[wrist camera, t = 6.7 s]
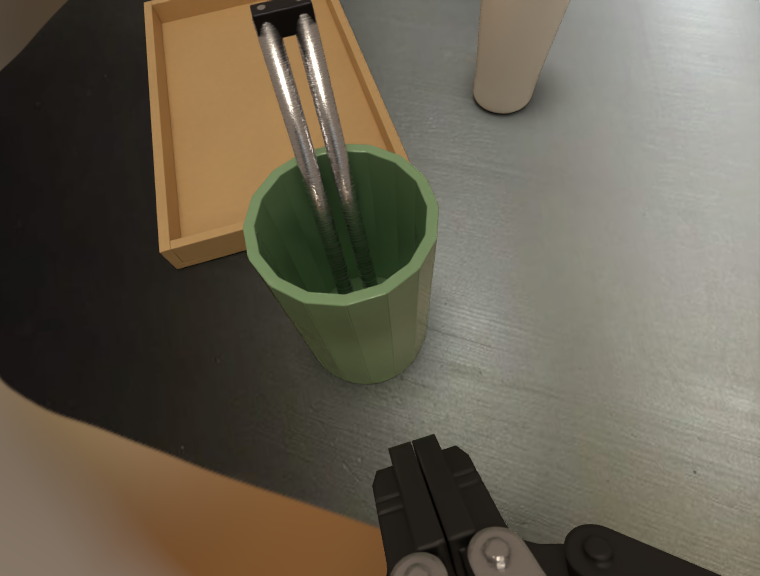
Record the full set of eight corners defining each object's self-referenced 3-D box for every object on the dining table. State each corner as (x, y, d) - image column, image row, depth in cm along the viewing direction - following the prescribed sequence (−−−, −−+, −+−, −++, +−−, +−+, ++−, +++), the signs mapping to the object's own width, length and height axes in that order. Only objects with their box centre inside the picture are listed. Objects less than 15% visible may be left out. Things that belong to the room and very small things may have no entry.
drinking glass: (554, 105, 37) (636, -111, 24) (490, 133, 36) (539, -77, 23) (510, 62, 40) (562, -152, 27) (450, 87, 39) (472, -123, 26)
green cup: (323, 400, 27) (260, 331, 15) (298, 292, 31) (232, 170, 19) (442, 363, 28) (468, 270, 16) (404, 261, 31) (403, 125, 20)
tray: (177, 269, 32) (159, 252, 30) (156, 26, 46) (143, 2, 44) (417, 202, 34) (418, 181, 31) (326, -13, 48) (322, -39, 45)
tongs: (362, 370, 27) (290, 172, 11) (332, 263, 31) (246, 2, 15) (395, 360, 27) (372, 150, 11) (361, 255, 31) (308, -12, 15)
